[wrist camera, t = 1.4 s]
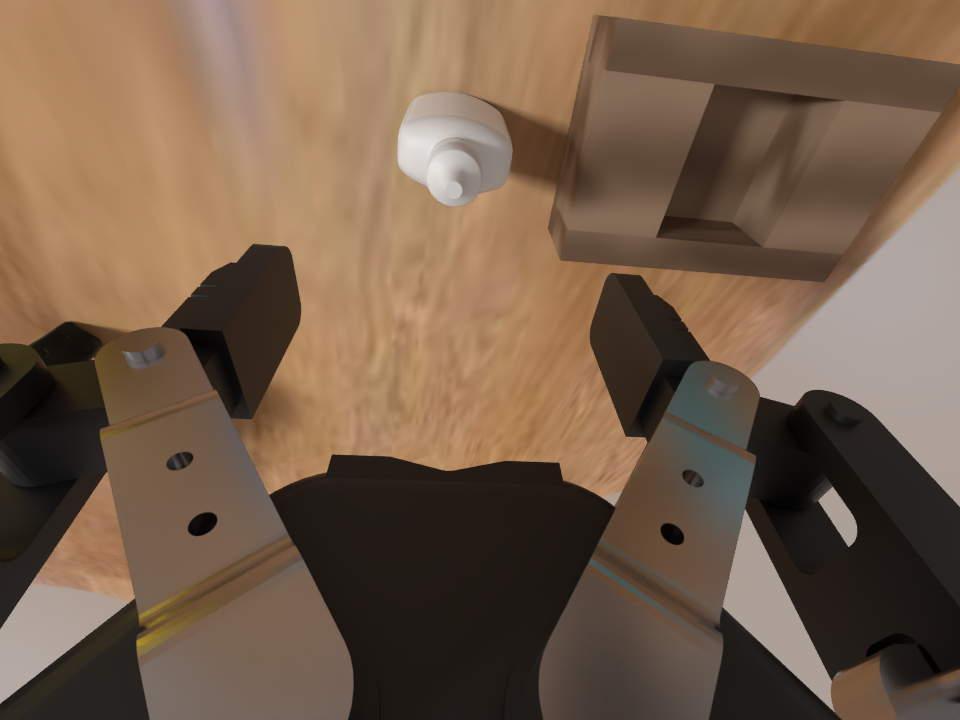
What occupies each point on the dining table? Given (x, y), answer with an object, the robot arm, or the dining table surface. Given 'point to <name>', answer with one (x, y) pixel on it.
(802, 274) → the walnut holder
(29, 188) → the dining table surface
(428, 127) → the eye dropper bottle
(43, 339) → the ceramic cat
